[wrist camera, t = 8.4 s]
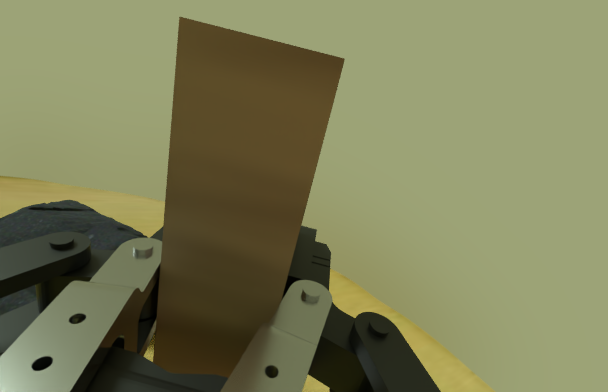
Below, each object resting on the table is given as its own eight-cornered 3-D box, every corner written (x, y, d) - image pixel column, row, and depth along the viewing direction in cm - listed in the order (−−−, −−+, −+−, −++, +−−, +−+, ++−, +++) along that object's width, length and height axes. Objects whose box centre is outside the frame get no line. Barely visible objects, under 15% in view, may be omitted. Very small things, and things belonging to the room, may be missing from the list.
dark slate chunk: (88, 208, 41) (87, 175, 39) (223, 283, 34) (229, 247, 32) (-88, 260, 27) (-102, 212, 26) (76, 399, 21) (72, 348, 19)
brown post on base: (247, 622, 9) (470, 75, 3) (47, 564, 9) (-46, -56, 4) (292, 359, 17) (377, 78, 12) (188, 330, 17) (225, 39, 12)
